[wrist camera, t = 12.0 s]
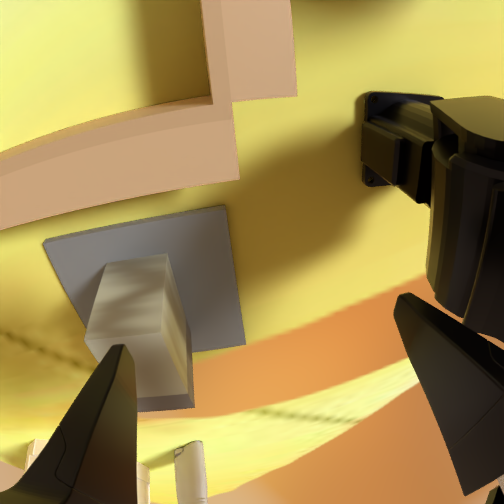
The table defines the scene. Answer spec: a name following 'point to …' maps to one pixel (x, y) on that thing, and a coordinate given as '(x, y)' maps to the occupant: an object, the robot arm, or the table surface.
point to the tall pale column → (191, 474)
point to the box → (145, 330)
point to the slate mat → (181, 260)
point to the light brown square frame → (159, 125)
